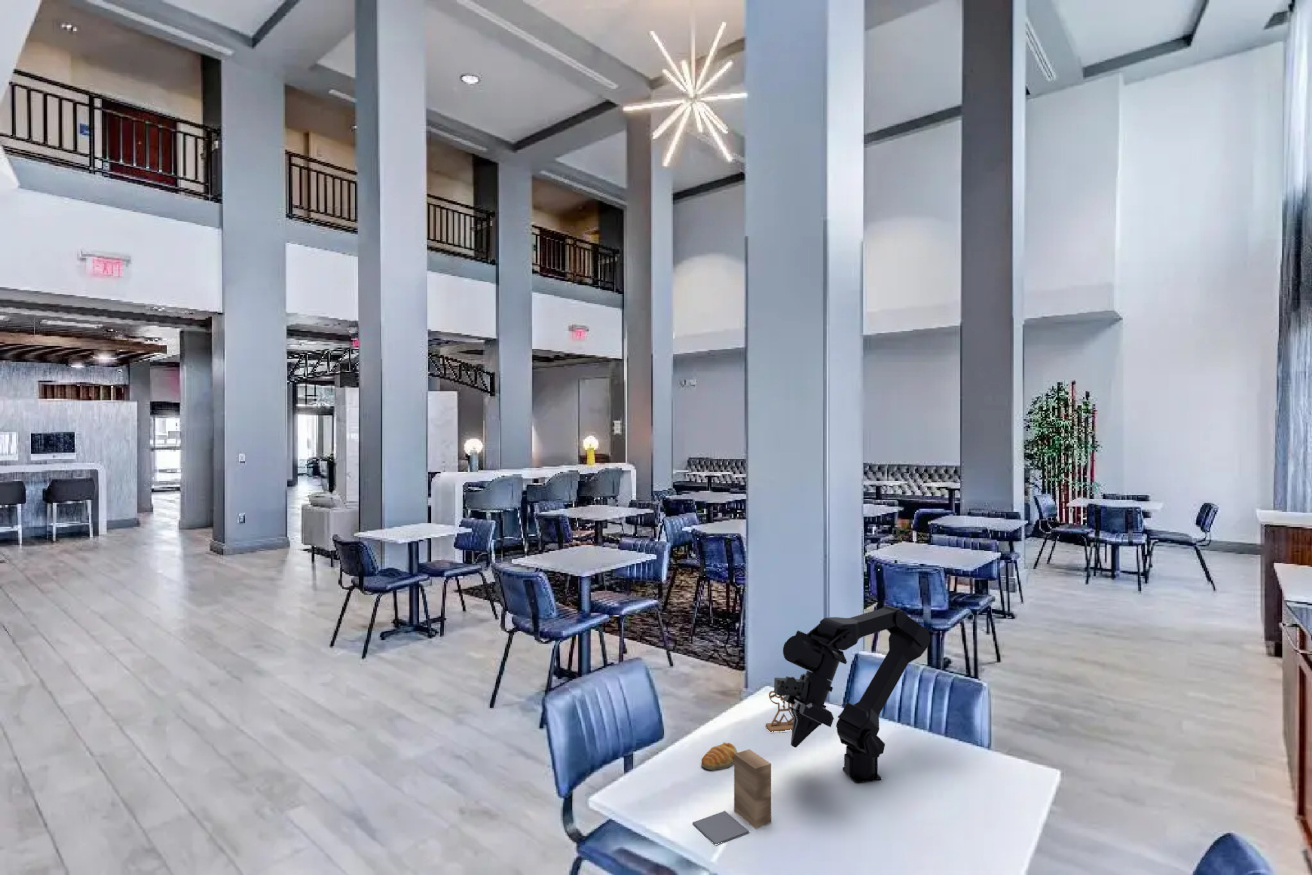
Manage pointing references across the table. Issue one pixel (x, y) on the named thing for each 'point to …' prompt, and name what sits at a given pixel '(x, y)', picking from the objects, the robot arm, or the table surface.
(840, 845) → the table surface
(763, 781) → the block
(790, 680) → the robot arm
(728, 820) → the mat
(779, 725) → the gingerbread man figurine
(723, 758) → the pastry
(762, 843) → the table surface
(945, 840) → the table surface
